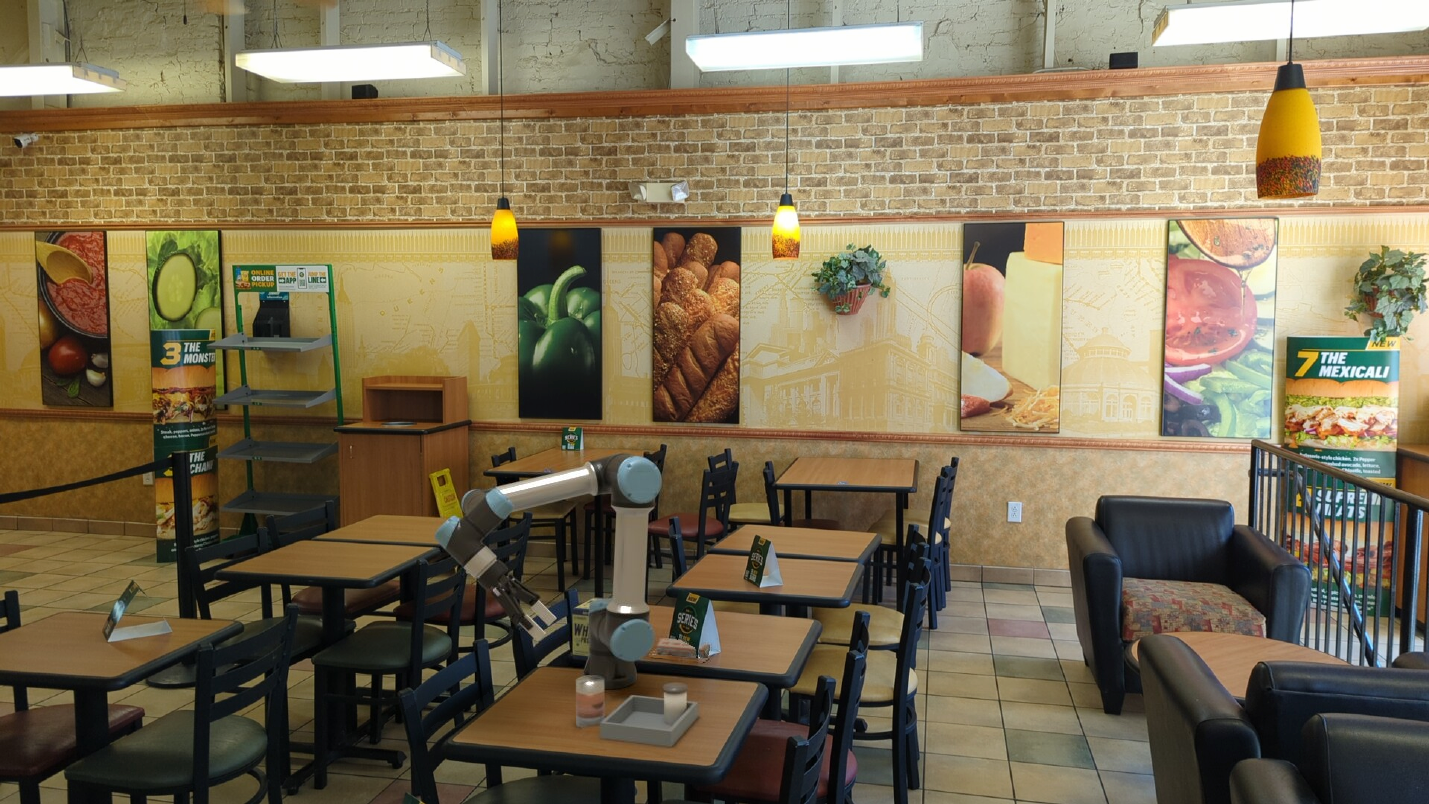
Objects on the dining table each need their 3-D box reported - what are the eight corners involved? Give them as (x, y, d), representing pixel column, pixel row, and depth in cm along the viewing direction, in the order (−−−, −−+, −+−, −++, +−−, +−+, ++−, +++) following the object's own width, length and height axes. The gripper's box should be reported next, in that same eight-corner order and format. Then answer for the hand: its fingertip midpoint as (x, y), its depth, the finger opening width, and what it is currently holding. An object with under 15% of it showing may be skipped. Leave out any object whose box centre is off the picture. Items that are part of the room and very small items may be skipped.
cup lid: (659, 692, 243) (659, 688, 243) (668, 684, 249) (668, 681, 249) (681, 695, 241) (681, 691, 241) (690, 687, 247) (690, 684, 247)
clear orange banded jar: (571, 726, 244) (571, 682, 243) (583, 716, 250) (583, 674, 250) (597, 730, 242) (597, 685, 241) (609, 719, 248) (608, 676, 248)
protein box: (571, 659, 297) (571, 608, 297) (595, 645, 312) (595, 596, 311) (603, 663, 294) (602, 611, 293) (625, 648, 308) (625, 599, 308)
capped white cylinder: (660, 724, 243) (660, 692, 243) (668, 716, 249) (668, 684, 248) (682, 726, 242) (682, 694, 241) (689, 718, 247) (689, 687, 247)
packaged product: (714, 639, 303) (704, 649, 293) (714, 655, 303) (704, 665, 293) (660, 634, 308) (648, 643, 299) (660, 649, 308) (647, 659, 299)
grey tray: (600, 741, 234) (599, 722, 234) (631, 712, 254) (631, 695, 253) (671, 750, 229) (671, 731, 229) (698, 720, 248) (698, 702, 248)
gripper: (489, 568, 258) (546, 626, 258) (462, 591, 233) (525, 655, 233) (509, 548, 257) (567, 606, 257) (484, 569, 232) (547, 633, 233)
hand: (547, 629), depth 245 cm, fingers open, 13 cm apart
